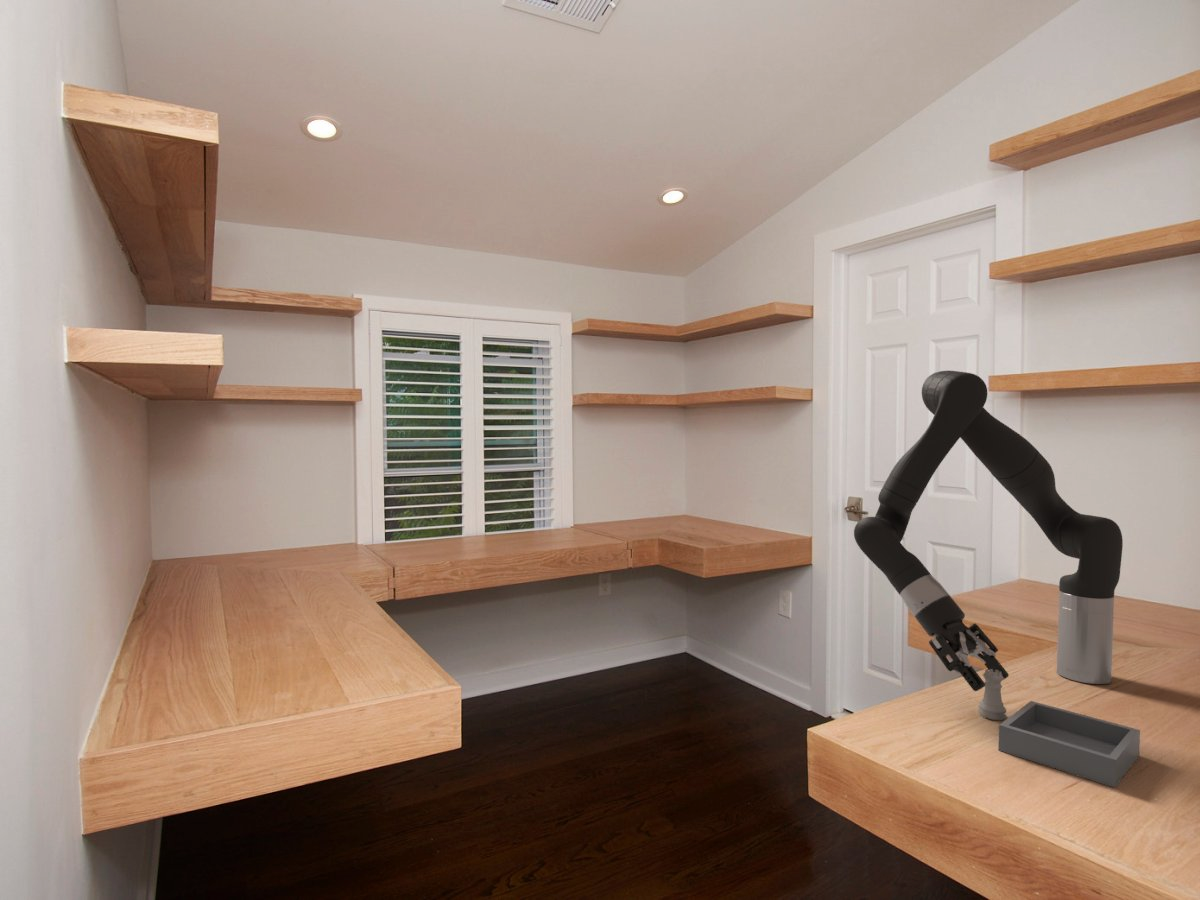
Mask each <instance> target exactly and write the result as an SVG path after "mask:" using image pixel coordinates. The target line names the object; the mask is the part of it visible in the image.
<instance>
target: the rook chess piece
mask: <svg viewBox="0 0 1200 900" xmlns="http://www.w3.org/2000/svg"><path fill="white" fill-rule="evenodd" d="M982 676H983V678H984V680H985V681H984V683H985V687H984V693H983V697H982V699H980V700H981V701H979V704H978V708H979V709H977V712H978V714H979V715H980V716H981V717H982V716H983V717H982V718H984V717H985V718H984V719H986V718H988V719H987V720H990V719H991V721H995V720H1002V721H1004V720H1006V719H1007V717H1008V716H1007V714H1006V713H1007V708H1006V707H1005V706H1004V702H1003V700H1002V687H1003V685H1002V682H1003V681H1004V680H1005V679H1004V678H1003V676H1002V672H1001V671H999V670H995V672H993V669H990V671H989V669H988V668H986V669H985V670H984V672H983V674H982ZM1003 679H1004V680H1003ZM1003 719H1004V720H1003Z"/></svg>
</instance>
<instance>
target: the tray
mask: <svg viewBox="0 0 1200 900" xmlns="http://www.w3.org/2000/svg"><path fill="white" fill-rule="evenodd" d="M1140 738H1141V729H1138V728H1133V727H1130V726H1127V725H1123V724H1118V723H1115V722H1112V721H1107V720H1105V719H1100V718H1096V717H1092V716H1089V715H1085V714H1081V713H1078V712H1074V711H1070V710H1066V709H1064V708H1063V709H1062V708H1059V707H1055V706H1051V705H1048V704H1044V703H1040V702H1038V701H1037V702H1036V701H1033V700H1030V701H1028V702H1027V703H1026V704H1025V705H1023V706H1022V707H1021V708H1019V709H1018V710H1017V711H1016V712H1014V713H1013V714H1012V715H1010V716H1009V717H1008V718H1005V719H1004V720H1003V721H1001V723H1000V724H998V751H1000V752H1002V751H1003V753H1005V754H1006V753H1007V754H1009V755H1012V756H1016V757H1017V758H1018V757H1019V758H1022V759H1023V760H1024V759H1025V760H1027V759H1028V760H1027V761H1030V760H1031V762H1033V761H1034V763H1036V762H1037V764H1039V763H1040V765H1043V764H1044V765H1043V766H1046V765H1047V766H1046V767H1049V768H1052V769H1055V768H1056V769H1055V770H1059V771H1061V770H1062V771H1061V772H1064V771H1065V773H1068V774H1070V775H1074V776H1076V775H1078V777H1079V776H1080V778H1083V777H1084V778H1083V779H1086V778H1087V779H1086V780H1089V779H1091V780H1090V781H1092V780H1094V781H1093V782H1095V781H1096V782H1095V783H1098V782H1099V783H1098V784H1101V783H1102V785H1104V784H1105V785H1104V786H1107V785H1108V787H1110V786H1111V787H1110V788H1113V789H1116V788H1117V786H1118V785H1119V783H1120V782H1121V781H1120V780H1122V779H1123V778H1124V777H1123V776H1125V775H1126V774H1127V773H1128V771H1129V770H1130V769H1129V768H1131V767H1132V766H1133V764H1134V763H1135V762H1136V760H1138V757H1139V756H1140V748H1141V747H1140V744H1141V743H1140V742H1141V739H1140ZM1126 772H1127V773H1126ZM1124 774H1125V775H1124ZM1122 777H1123V778H1122ZM1119 781H1120V782H1119ZM1117 784H1118V785H1117Z"/></svg>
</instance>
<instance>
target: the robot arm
mask: <svg viewBox="0 0 1200 900" xmlns="http://www.w3.org/2000/svg"><path fill="white" fill-rule="evenodd" d="M921 387H922V388H921V398H922V402H923V403H924V404H923V405H925V408H926V409H927V410H928V411H930V413H931V414H932V415H934V416H933V418H932V419H931V422H930V424H929V425H928V427H927V428H926V430H925V431H924V433H923V434H922V435H921V436H920V438H919V439H918V440H917V441H916V442H915V443H914V444H913V445H912V446H911V447H910V448H909V449H908V450H907V451H906V452H904V454H903V455H902V456H901V458H900V459H898V461H897V462H896V464H895V465H894V466H893V468H892V469H891V471H890V473H889V475H888V477H887V479H886V480H885V482H884V484H883V485H882V488H881V489H880V490H879V491H880V492H879V494H878V497H877V498H878V502H879V506H878V508H877V511H876V513H875V515H874V516H867V517H866V516H865V517H863V518H861V519H860V520H859V521H858V522H857V523H856V525H855V526H854V530H853V536H854V541H855V543H856V545H857V546H858V547H859V549H860V550H861V551H862V553H863V554H864V555H865V556H866V557H867V558H868V559H869V560H870V562H872V564H873V565H874V566H876V567H877V568H878V569H879V571H881V572H882V573H883V574H884V576H886V578H887V580H888V581H889V583H890V584H891V586H892V587H893V588H894V590H895V591H896V592H897V593H898V595H899V596H900V597H901V599H902V600H903V602H904V604H905V606H906V607H907V609H908V611H910V613H911V614H912V615H913V617H914V618H915V619H916V621H917V622H918V623H919V625H920V626H921V627H922V629H923V630H924V631H925V633H926V634H927V635H928V636H929V637H933V638H932V639H930V640H929V641H928V644H929V646H931V648H932V650H933V652H934V653H935V654H936V655H937V657H938V658H939V659H940V660H941V663H942V664H943V665H944V666H945V668H946V670H948V671H949V672H952V671H955V672H956V673H958V674H960V675H961V676H962V677H963V679H964V680H965V681H966V682H967V685H968V686H969V687H970V688H971V689H972V691H974V692H977V691H980V690H982V689H983V688H985V681H984V680H983V679H982V678H981V676H980V675H979V674H978V673H977V671H976V670H975V669H974V667H973V666H972V665H971V664H970V661H969V658H968V656H970V657H972V658H977V660H980V661H981V662H982V663H983V664H984V666H985V667H986V669H989V670H988V671H990V669H993V672H995V670H999V671H1001V672H1002V676H1003V678H1004V679H1003V680H1002V681H1004V680H1006V679H1007V678H1008V677H1010V676H1009V673H1008V671H1007V670H1006V669H1005V668H1004V666H1003V665H1002V664H1001V663H1000V662H999V660H998V659H997V658H996V653H997V652H999V649H998V647H997V646H996V645H995V644H994V643H993V642H992V640H991V639H990V638H989V637H988V636H987V635H986V634H985V632H984V631H983V630H982V628H980V626H979V625H978V624H977V623H975V622H974V623H972V624H971V625H969V626H967V625H966V624H964V622H963V620H964V619H965V618H966V617H965V616H966V615H965V613H964V611H963V610H962V608H961V607H960V606H959V605H958V604H957V602H956V601H955V600H954V599H953V598H952V596H951V594H949V593H948V591H947V590H946V588H945V587H944V586H943V585H942V584H941V583H940V582H939V581H938V580H937V579H936V578H935V577H934V576H933V575H932V573H931V572H930V571H929V570H928V569H927V567H926V566H925V565H924V563H922V561H921V560H920V559H919V558H918V557H917V556H916V555H915V554H914V553H912V552H910V551H908V550H907V548H905V546H904V545H903V543H901V541H902V540H903V539H904V535H905V533H906V531H907V528H908V526H909V522H910V519H911V515H912V512H913V510H914V509H915V507H916V505H917V503H918V502H919V500H920V499H921V497H922V495H923V493H924V492H925V489H926V488H927V486H928V484H929V482H930V480H931V479H932V477H933V476H934V474H935V472H936V471H937V469H938V468H939V467H940V465H941V463H942V462H943V460H944V459H945V458H946V456H947V455H948V454H949V452H950V451H951V450H952V448H953V447H954V446H955V444H956V443H957V442H958V441H959V439H961V440H962V441H963V442H964V444H965V445H966V446H967V448H968V449H969V450H970V451H971V452H972V453H973V455H974V456H976V458H977V459H978V460H979V461H980V463H982V465H983V466H984V467H985V468H986V469H987V470H988V471H989V473H990V474H991V475H992V476H993V478H995V479H996V480H997V482H999V484H1001V486H1002V487H1003V488H1004V489H1005V490H1006V491H1007V492H1008V493H1009V494H1010V495H1011V496H1012V497H1014V499H1015V500H1016V501H1017V502H1018V503H1019V504H1020V506H1021V507H1022V508H1023V509H1024V510H1025V511H1026V512H1027V513H1028V514H1029V515H1030V517H1032V519H1034V521H1035V523H1036V524H1037V525H1038V527H1039V528H1040V529H1041V530H1042V532H1043V533H1044V535H1045V536H1046V537H1047V539H1048V540H1049V542H1050V543H1051V544H1052V546H1053V547H1054V548H1055V549H1056V550H1057V551H1059V552H1060V553H1062V554H1063V555H1065V556H1067V557H1070V558H1072V559H1073V558H1074V559H1078V566H1077V570H1076V571H1075V572H1074V573H1071V574H1066V575H1063V576H1061V577H1060V579H1059V582H1058V583H1059V587H1058V589H1059V591H1058V615H1057V616H1058V617H1057V618H1058V619H1057V646H1056V647H1057V648H1056V650H1057V651H1056V673H1057V674H1058V675H1059V676H1061V677H1063V678H1066V679H1068V680H1070V681H1071V680H1072V681H1074V682H1079V683H1085V684H1092V685H1105V684H1106V685H1107V684H1110V683H1111V682H1112V673H1113V672H1112V670H1113V669H1112V665H1113V642H1114V641H1113V639H1114V618H1115V617H1114V615H1115V611H1114V609H1115V608H1114V607H1115V590H1116V588H1117V586H1118V584H1119V581H1120V577H1121V565H1122V556H1123V546H1124V545H1123V543H1124V542H1123V534H1122V531H1121V528H1120V526H1119V525H1118V524H1117V523H1116V522H1115V520H1113V519H1110V518H1107V517H1103V516H1098V515H1097V516H1095V515H1092V514H1091V515H1090V514H1084V513H1079V512H1078V511H1076V510H1075V509H1073V508H1072V507H1071V506H1070V505H1069V504H1068V503H1067V502H1066V501H1065V500H1064V499H1063V498H1062V497H1061V496H1060V494H1059V493H1058V491H1057V488H1056V479H1055V478H1056V477H1055V474H1054V470H1053V467H1052V466H1051V464H1050V463H1049V461H1048V460H1047V459H1046V458H1045V457H1044V456H1043V455H1042V454H1041V452H1039V450H1038V449H1037V448H1036V446H1034V445H1033V444H1032V443H1031V442H1030V441H1029V440H1028V439H1026V438H1025V437H1024V436H1022V434H1019V432H1017V431H1016V430H1014V429H1013V428H1011V427H1009V426H1008V425H1006V424H1005V423H1004V422H1002V421H1000V420H999V419H997V418H996V417H994V416H993V415H992V414H991V413H990V412H989V411H988V410H987V409H986V408H985V405H986V402H987V400H988V399H987V398H988V387H987V385H986V383H985V381H984V380H983V378H982V377H980V376H979V375H977V374H975V373H971V372H965V371H958V370H941V371H936V372H934V373H932V374H930V375H929V376H927V378H926V379H925V380H924V382H923V384H922V386H921ZM947 657H948V658H947Z"/></svg>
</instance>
